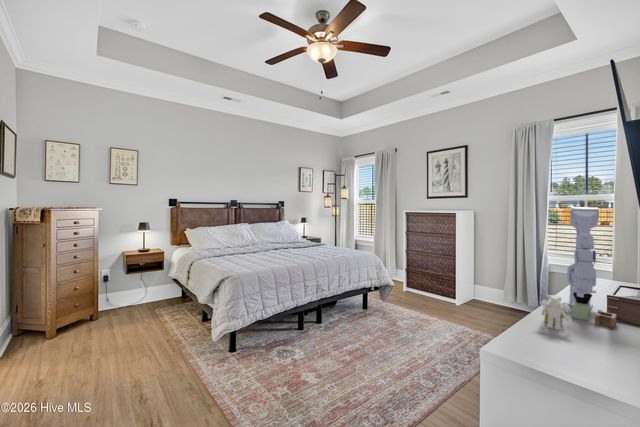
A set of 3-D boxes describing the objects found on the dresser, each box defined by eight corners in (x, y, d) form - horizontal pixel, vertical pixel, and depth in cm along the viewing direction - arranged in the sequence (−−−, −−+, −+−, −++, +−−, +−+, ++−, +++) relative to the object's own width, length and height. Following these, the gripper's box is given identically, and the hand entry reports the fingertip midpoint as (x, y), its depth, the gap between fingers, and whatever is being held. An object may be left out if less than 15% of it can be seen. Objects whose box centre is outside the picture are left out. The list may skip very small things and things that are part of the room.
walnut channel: (562, 310, 131) (562, 301, 131) (616, 322, 119) (616, 312, 119) (557, 316, 124) (558, 306, 124) (613, 329, 112) (614, 318, 112)
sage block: (573, 313, 127) (573, 301, 127) (589, 317, 124) (589, 305, 124) (570, 316, 124) (571, 304, 124) (587, 320, 120) (587, 307, 120)
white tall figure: (556, 319, 120) (557, 294, 120) (565, 325, 115) (567, 299, 115) (541, 318, 121) (542, 294, 121) (550, 324, 116) (551, 298, 115)
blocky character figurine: (537, 325, 114) (539, 293, 114) (540, 322, 117) (542, 291, 116) (568, 333, 107) (570, 299, 107) (570, 330, 110) (572, 296, 110)
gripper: (594, 283, 118) (592, 318, 119) (598, 277, 128) (597, 310, 129) (570, 279, 123) (569, 313, 124) (576, 274, 133) (575, 305, 134)
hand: (581, 311), depth 127 cm, fingers closed
